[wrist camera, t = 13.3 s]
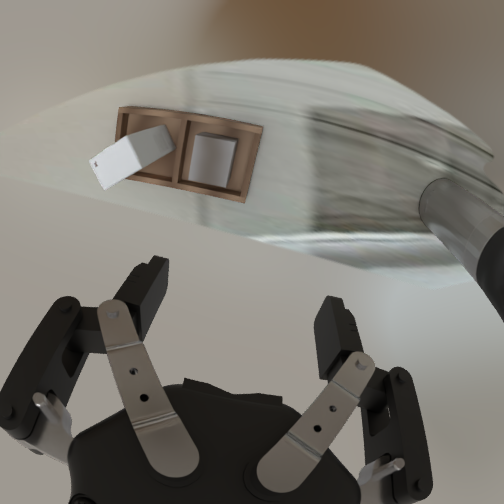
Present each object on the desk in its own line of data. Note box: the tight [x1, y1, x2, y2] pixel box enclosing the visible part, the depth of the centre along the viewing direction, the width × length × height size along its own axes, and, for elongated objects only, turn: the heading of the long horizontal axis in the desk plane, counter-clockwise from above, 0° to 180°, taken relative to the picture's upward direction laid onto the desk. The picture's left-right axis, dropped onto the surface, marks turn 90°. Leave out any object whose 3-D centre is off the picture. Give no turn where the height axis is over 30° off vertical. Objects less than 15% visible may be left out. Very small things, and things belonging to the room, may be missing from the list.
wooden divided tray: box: [115, 106, 263, 203], centre depth 35 cm, size 20×11×5 cm, turn 77°
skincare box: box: [89, 124, 176, 191], centre depth 31 cm, size 6×4×12 cm
